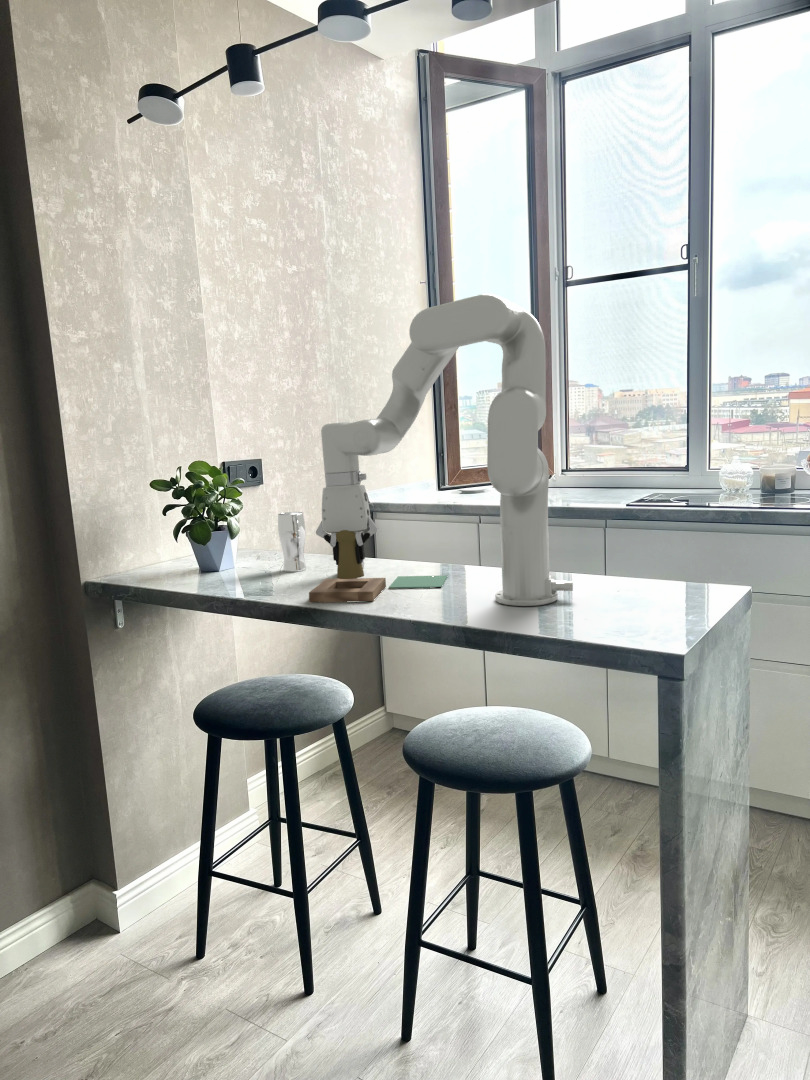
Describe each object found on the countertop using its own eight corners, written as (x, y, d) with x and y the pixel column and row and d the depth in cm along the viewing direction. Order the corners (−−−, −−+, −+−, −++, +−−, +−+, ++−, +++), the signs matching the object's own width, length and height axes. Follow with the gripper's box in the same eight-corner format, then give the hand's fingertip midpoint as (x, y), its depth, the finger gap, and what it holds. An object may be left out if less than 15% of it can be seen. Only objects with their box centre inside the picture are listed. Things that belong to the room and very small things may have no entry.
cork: (366, 572, 176) (362, 524, 174) (361, 578, 170) (357, 528, 169) (339, 574, 177) (335, 525, 175) (334, 579, 171) (330, 529, 169)
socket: (386, 587, 180) (385, 577, 180) (373, 601, 166) (372, 591, 166) (326, 588, 182) (326, 578, 182) (309, 602, 169) (308, 592, 168)
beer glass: (279, 573, 204) (274, 515, 202) (284, 567, 211) (279, 512, 209) (305, 571, 204) (301, 514, 201) (310, 566, 211) (306, 511, 208)
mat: (447, 577, 187) (447, 575, 187) (441, 588, 176) (441, 586, 176) (398, 577, 189) (397, 576, 189) (388, 589, 178) (388, 587, 178)
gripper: (383, 476, 173) (390, 558, 175) (310, 481, 175) (317, 561, 178) (376, 479, 165) (383, 565, 168) (300, 484, 168) (308, 568, 171)
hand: (349, 562), depth 173 cm, fingers closed on cork, 4 cm apart
